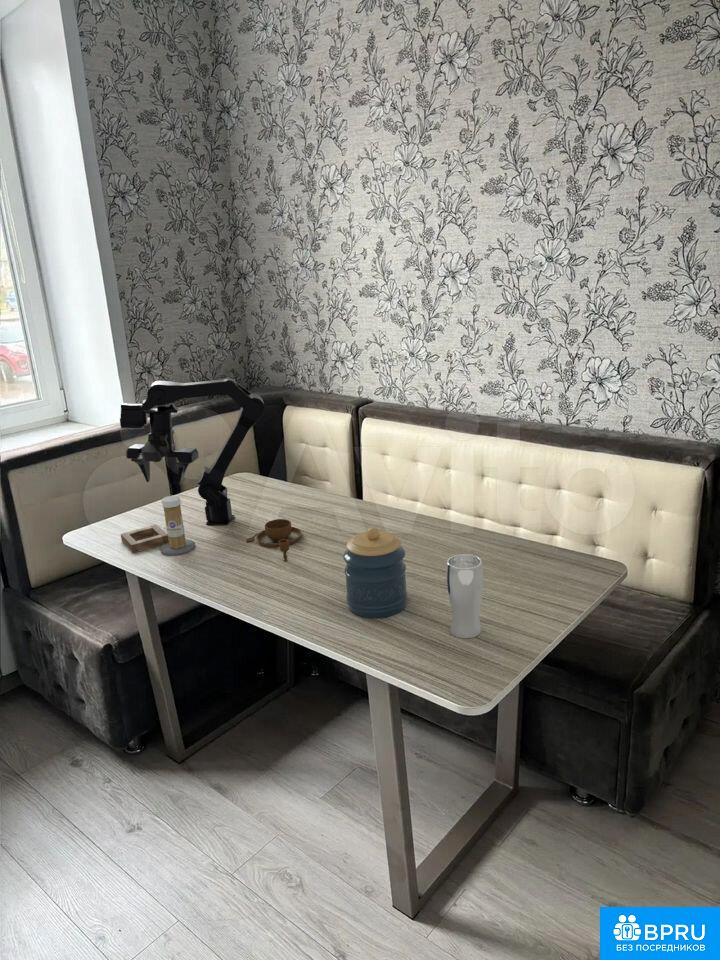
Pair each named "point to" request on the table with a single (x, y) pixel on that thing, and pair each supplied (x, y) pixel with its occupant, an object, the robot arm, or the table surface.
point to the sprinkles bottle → (174, 521)
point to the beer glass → (465, 594)
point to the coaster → (187, 548)
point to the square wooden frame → (156, 540)
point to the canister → (375, 574)
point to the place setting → (278, 535)
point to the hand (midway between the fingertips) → (163, 483)
